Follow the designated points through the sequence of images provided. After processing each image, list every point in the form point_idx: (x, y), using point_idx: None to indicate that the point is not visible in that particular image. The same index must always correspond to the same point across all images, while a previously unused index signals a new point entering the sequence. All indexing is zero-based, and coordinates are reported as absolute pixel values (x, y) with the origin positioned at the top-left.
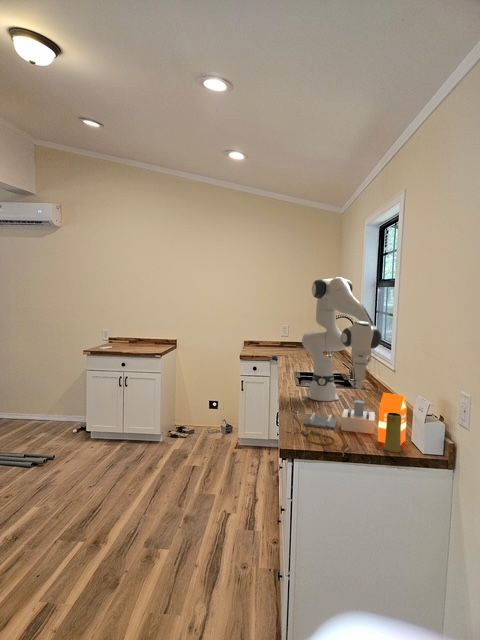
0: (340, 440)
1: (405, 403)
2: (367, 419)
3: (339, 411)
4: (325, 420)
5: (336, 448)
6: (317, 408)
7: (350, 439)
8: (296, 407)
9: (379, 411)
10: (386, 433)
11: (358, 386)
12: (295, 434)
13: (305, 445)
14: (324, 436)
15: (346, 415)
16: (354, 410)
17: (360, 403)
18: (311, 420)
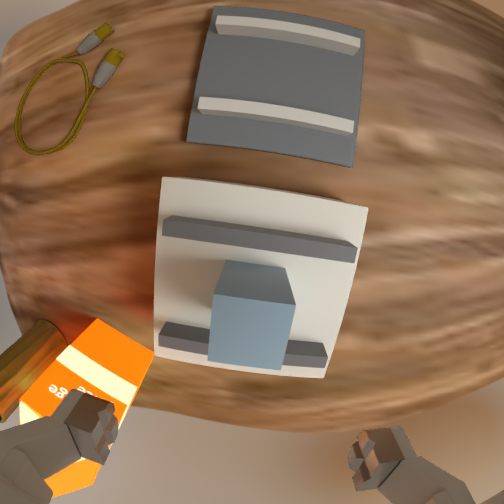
0: (59, 176)
1: (71, 491)
2: (159, 325)
3: (481, 204)
4: (298, 97)
5: (5, 169)
6: (494, 112)
7: (77, 215)
8: (474, 32)
9: (32, 385)
10: (12, 345)
11: (62, 417)
12: (99, 13)
13: (16, 76)
14: (84, 110)
15: (204, 209)
16: (222, 272)
17: (209, 337)
18: (216, 26)
